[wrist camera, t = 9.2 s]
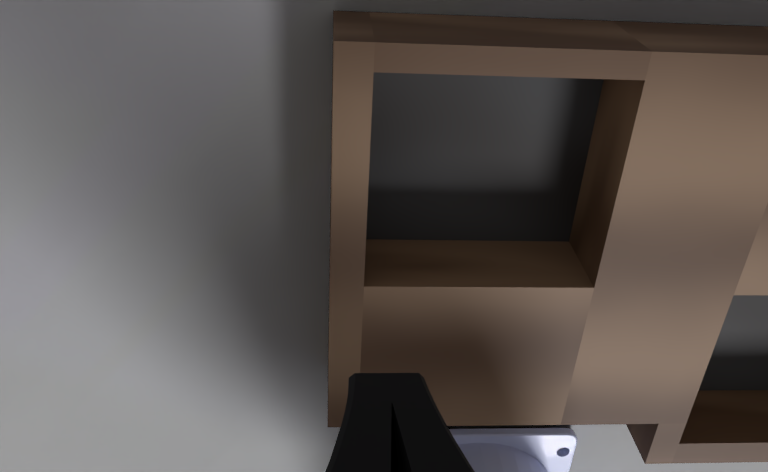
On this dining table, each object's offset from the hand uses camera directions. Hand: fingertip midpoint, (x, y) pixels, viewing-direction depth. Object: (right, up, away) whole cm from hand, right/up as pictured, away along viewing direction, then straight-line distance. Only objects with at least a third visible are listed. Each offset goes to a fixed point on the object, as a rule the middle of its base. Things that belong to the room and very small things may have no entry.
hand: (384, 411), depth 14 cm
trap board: (+11, +3, +11) cm, 16 cm away
